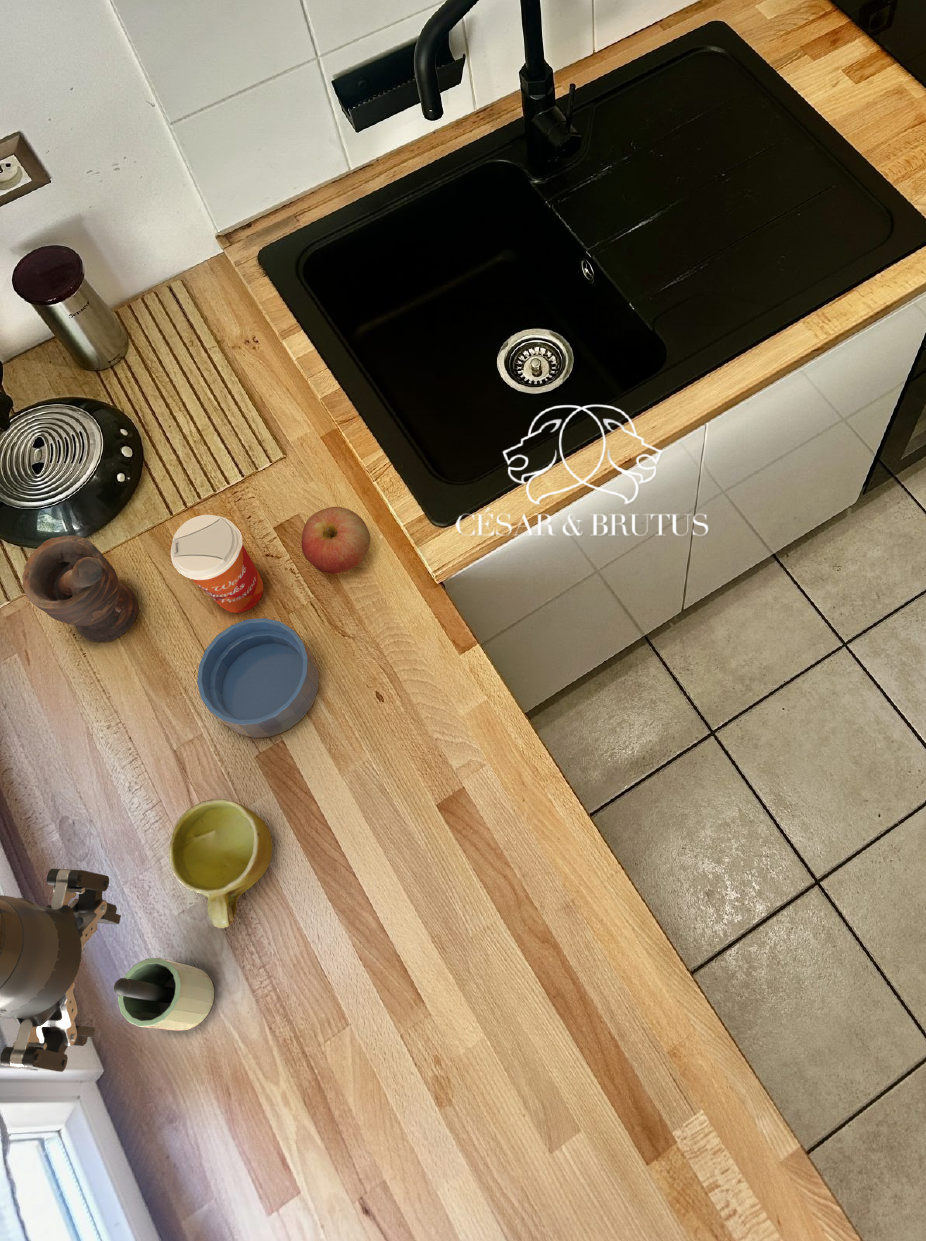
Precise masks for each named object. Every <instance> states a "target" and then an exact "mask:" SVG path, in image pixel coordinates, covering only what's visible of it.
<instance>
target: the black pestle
mask: <svg viewBox="0 0 926 1241" xmlns="http://www.w3.org/2000/svg"><path fill="white" fill-rule="evenodd" d="M175 988H176V983H175V980H174V978H173V979H171V980H170V981H168V982H167V983H166V984H165V985H164V986H161V985H156V984H151V983H146V982H141V981H136V980H132V979H127V978H124V977H121V978H119V979H117V980H116V981H115V982H114V984H113V992H114V993H115V995H117V996H118V995H121V996H127V997H132V998H138V999H144V1000H150V1001H156V1002H159V1005H160V1008H161V1010H162V1012H163V1013H164V1012H165V1011H166V1010H167V1009H168V1008H169V1007H170V1005H171V1003H172V1000H173V998H174V996H175Z"/></svg>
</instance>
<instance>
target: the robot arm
mask: <svg viewBox="0 0 926 1241" xmlns="http://www.w3.org/2000/svg"><path fill="white" fill-rule="evenodd" d="M46 884H47V885H48V886H53V887H52V892H53V895H52V899H51V904H49V905H46V906H45V905H42V904H38V903H35V902H33V901H32V900H30V899H29V898H25V897H14V896H11V895H10V896H9V895H4V894H3V895H0V1017H5V1018H6V1017H7V1018H13V1020H14V1021H15V1023H16V1024H17V1025H18V1026H19V1028H18V1031H17V1035H16V1038H15V1041H13V1043H12V1046H5V1047H4V1048H3V1049H2V1051H1V1053H0V1065H1V1066H4V1067H5V1066H6V1067H11V1068H17V1069H23V1070H26V1071H27V1070H29V1071H50V1072H56V1073H62V1072H64V1071H65V1070H66V1067H67V1065H68V1059H69V1058H68V1055H67V1054H66V1051H67V1049H68V1047H73V1046H77V1047H84V1046H85V1045H86V1044H87V1042H88V1038H94V1037H95V1033H96V1029H97V1028H96V1026H95V1027H94V1026H87V1025H76V1021H75V1019H76V1017H77V1016H78V1013H79V1009H78V1006H77V1005H78V1004H77V1002H76V997H75V994H74V989H75V986H76V984H75V980H76V977H77V975H78V972H79V970H80V966H81V962H82V955H83V954H82V952H83V951H84V949H85V945H86V944H87V942H88V941H89V940H90V939H91V938H92V937H93V936H94V935H95V933H96V932H97V931H98V924H102V925H103V924H105V925H120V922H121V919H122V915H121V914H118V913H117V911H118V907H117V906H116V904H113V903H111V902H107V900H106V899H103V892H106V891H108V888H109V887H110V886H109V885H110V877H109V876H108V875H105V874H101V873H96V872H91V871H89V870H83V869H67V868H50V869H49V870H48V872H47V875H46ZM77 895H78V897H77V898H75V897H76V896H77ZM72 899H74V900H73V901H72V902H71V903H70V901H71V900H72ZM69 903H70V904H69Z"/></svg>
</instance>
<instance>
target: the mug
mask: <svg viewBox="0 0 926 1241" xmlns="http://www.w3.org/2000/svg"><path fill="white" fill-rule="evenodd" d="M167 850H168V863H169V865H170V870H171V871H172V874H173V875H174V878H176V880H177V881H178V882H179V884H181V885H182V886H183V887H184V888H185V889H187V890H189V891H191V892H193V893H197V894H200V895H202V896H203V897H204V896H205V897H206V898H207V914H208V917H209V920H210V922H211V925H212V926H213V927H214V928H218V929H223V928H228V927H230V926H231V925H232V924H233V923H234V920H235V918H236V913H237V910H238V907H237V906H238V905H237V904H238V899H239V898H240V897H241V896H242V895H243V894H245V892H246V891H248V890H249V889H250V888H252V887H253V886H254V885H255V884H256V883H257V882H258V881H259V880H260V879H261V878H262V877H263V876H264V874H265V873H266V872H267V870H268V868H269V866H270V863H271V861H272V855H273V838H272V833H271V831H270V828H269V827H268V825H267V823H266V821H265V820H263V818H262V817H260V816H259V814H257V813H256V812H254V811H253V810H252V809H250V808H249V807H247V806H244V805H242V804H241V803H238V802H236V801H234V800H229V799H227V798H214V799H213V798H211V799H209V800H208V799H207V800H202V801H200V802H199V803H197V804H195V805H193V806H191V807H190V808H188V809H187V810H185V812H184V813H183V814H182V815H181V816H180V817H179V819H178V820H177V822H176V823H175V825H174V827H173V829H172V832H171V834H170V837H169V843H168V849H167Z"/></svg>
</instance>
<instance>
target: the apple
mask: <svg viewBox="0 0 926 1241" xmlns="http://www.w3.org/2000/svg"><path fill="white" fill-rule="evenodd" d="M370 547H371V534H370V531H369V528H368V526H367V524H366V522H365V521H364V519H363V518H362V517H361V516H360V515H359V514H357V513H356V511H355V512H354V511H353V510H352V509H349V508H347V507H341V506H330V507H326V508H322V509H321V510H318V511H317V512H315V513H313V514H312V515H311V516H310V517H308V519H307V520H306V522H305V524H304V526H303V529H302V532H301V551H302V554H303V556H304V558H305V559H306V560H307V561H308V562H309V564H310V565H312V566H313V567H314V568H315V569H316V570H318V571H319V572H321V573H325V574H328V575H329V574H330V575H337V574H343V573H345V572H348V571H350V570H352V569H354V568H356V567H358V566H359V565H360V564H361V563H363V561H364V560H365V558H366V556H367V555H368V553H369V550H370Z"/></svg>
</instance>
